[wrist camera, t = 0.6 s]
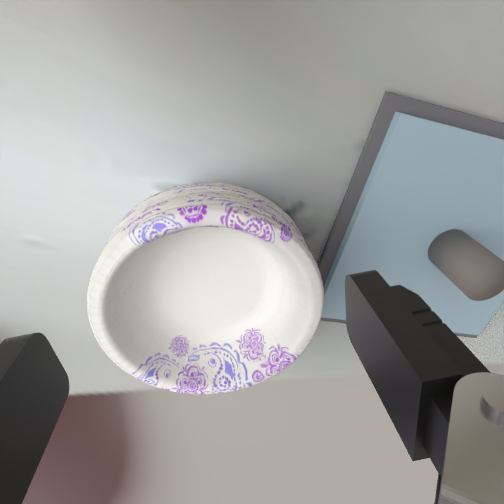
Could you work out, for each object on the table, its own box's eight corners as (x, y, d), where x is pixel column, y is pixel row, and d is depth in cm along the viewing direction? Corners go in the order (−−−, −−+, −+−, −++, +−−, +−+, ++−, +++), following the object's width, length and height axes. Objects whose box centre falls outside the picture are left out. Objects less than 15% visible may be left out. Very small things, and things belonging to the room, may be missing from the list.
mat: (385, 91, 24) (388, 92, 23) (606, 151, 28) (612, 153, 28) (299, 314, 33) (300, 318, 33) (473, 334, 38) (476, 337, 37)
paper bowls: (267, 134, 25) (289, 169, 18) (318, 292, 32) (347, 358, 26) (73, 210, 26) (25, 269, 19) (167, 344, 34) (157, 420, 27)
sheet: (395, 111, 24) (444, 129, 19) (593, 163, 28) (677, 189, 23) (313, 311, 33) (332, 358, 28) (473, 329, 37) (515, 374, 32)
